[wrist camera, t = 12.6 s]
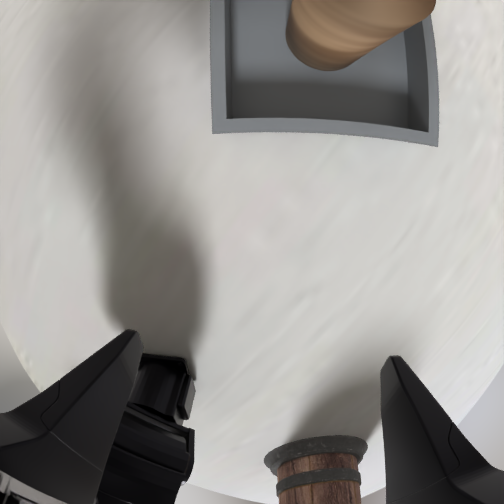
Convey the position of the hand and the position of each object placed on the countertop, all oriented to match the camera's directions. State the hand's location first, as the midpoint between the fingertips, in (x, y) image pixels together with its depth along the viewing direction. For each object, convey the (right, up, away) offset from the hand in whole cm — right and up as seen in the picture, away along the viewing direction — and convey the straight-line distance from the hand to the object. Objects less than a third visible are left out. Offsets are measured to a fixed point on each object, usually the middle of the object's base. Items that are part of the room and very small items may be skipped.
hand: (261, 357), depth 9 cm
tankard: (+11, -32, +28) cm, 44 cm away
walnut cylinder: (+4, +17, +5) cm, 18 cm away
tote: (+4, +18, +5) cm, 19 cm away
